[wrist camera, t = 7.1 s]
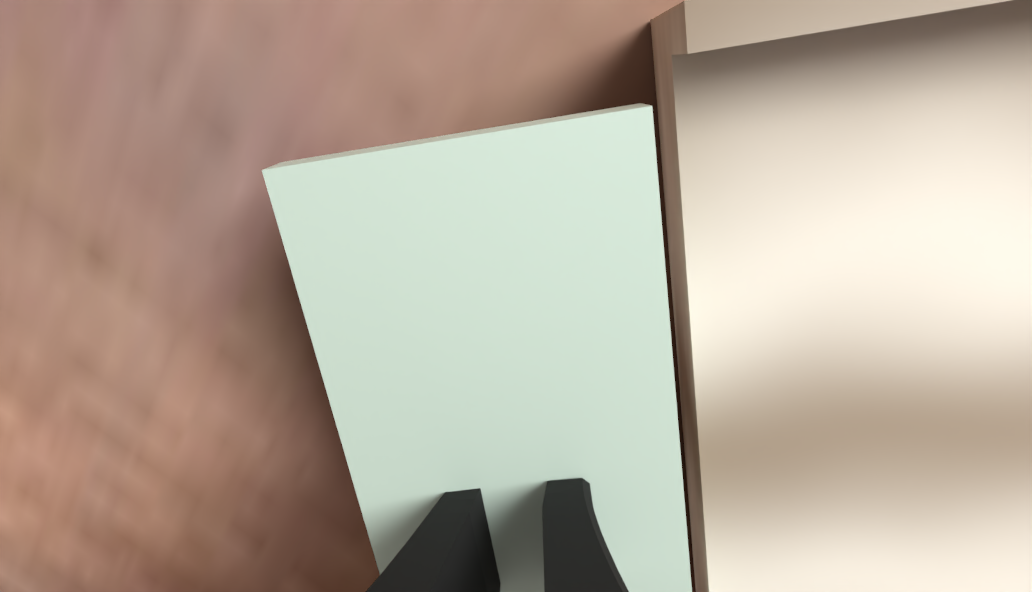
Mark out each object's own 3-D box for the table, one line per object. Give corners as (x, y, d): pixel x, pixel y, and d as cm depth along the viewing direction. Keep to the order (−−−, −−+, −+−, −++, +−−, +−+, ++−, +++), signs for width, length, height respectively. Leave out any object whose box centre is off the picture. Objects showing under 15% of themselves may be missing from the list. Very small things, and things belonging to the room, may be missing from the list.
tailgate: (707, 776, 13) (448, 808, 13) (696, 738, 14) (451, 769, 14) (652, 106, 9) (261, 169, 9) (640, 103, 9) (281, 162, 10)
